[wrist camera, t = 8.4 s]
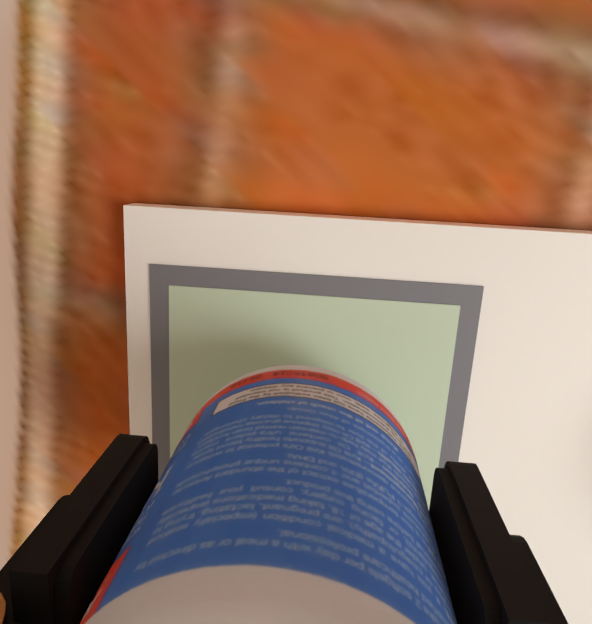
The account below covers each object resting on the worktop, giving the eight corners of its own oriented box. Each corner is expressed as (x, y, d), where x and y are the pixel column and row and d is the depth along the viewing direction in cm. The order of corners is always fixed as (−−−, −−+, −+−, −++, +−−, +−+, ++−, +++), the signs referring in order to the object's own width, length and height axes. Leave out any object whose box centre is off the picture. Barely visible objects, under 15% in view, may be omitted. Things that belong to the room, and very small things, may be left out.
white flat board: (134, 203, 14) (87, 212, 12) (1005, 255, 13) (1177, 280, 10) (143, 562, 17) (106, 636, 14) (855, 632, 16) (960, 728, 13)
